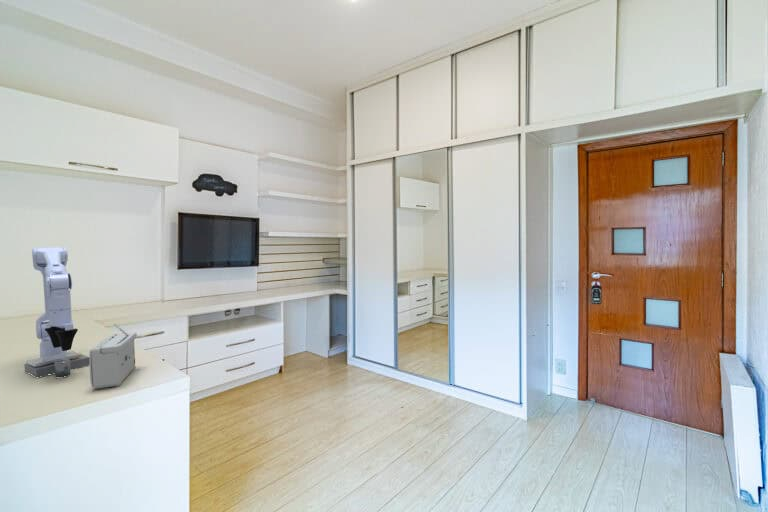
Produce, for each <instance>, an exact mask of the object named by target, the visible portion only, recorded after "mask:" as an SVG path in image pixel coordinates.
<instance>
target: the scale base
mask: <svg viewBox="0 0 768 512" xmlns="http://www.w3.org/2000/svg"><path fill="white" fill-rule="evenodd" d="M80 354H81V357H77V358H72V359H68V360H70V369H71V371H73V370H77V369H80V367H81V368H85V367H88V365H89V356H88V355H87V356H86V355H84V354H82V353H80ZM84 366H85V367H84ZM76 368H77V369H76ZM72 369H73V370H72ZM26 372H27V373H26ZM24 373H26V374H28V373H30V374H32V375H33V376H32V375H31V376H32V377H34V376H35V377H40V376H44V377H46V376H45V375H48V374H52V375H54V374H53V373H55V362H54V363H50V364H45V365H41V366H36V367H34V366H32V365H30V364H28V363H27V362H26V363H24ZM30 374H29V375H30ZM48 376H49V375H48ZM35 377H34V378H35ZM40 378H41V377H40Z"/></svg>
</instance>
